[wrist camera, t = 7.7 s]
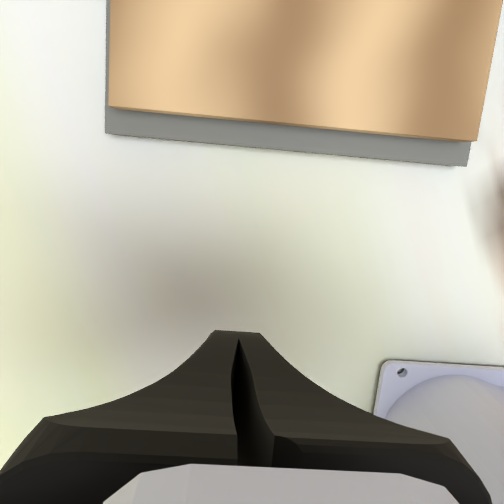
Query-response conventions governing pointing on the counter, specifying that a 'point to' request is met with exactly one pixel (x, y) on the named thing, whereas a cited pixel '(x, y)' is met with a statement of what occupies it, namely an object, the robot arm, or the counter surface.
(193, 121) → the underlay
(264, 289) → the counter surface
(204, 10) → the plank
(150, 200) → the counter surface
